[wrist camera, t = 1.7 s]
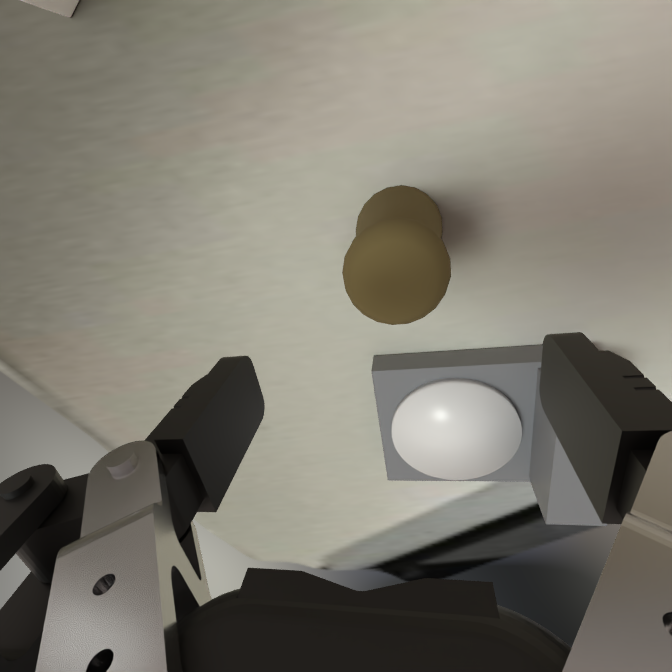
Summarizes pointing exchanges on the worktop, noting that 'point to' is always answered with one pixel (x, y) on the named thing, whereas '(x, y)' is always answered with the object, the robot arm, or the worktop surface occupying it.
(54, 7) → the milk
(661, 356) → the worktop surface
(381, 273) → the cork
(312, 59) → the worktop surface
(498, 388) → the knob on square plate
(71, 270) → the worktop surface
